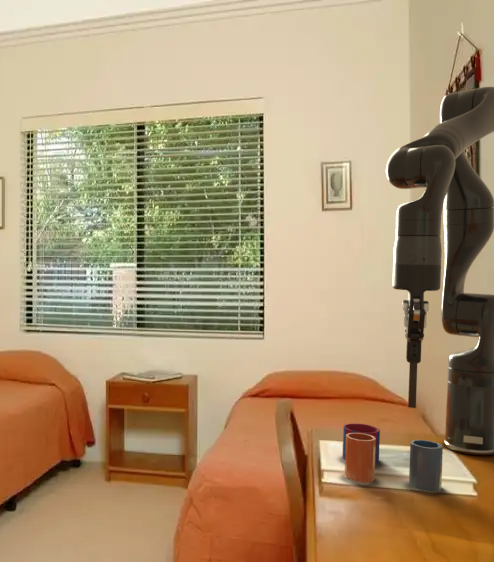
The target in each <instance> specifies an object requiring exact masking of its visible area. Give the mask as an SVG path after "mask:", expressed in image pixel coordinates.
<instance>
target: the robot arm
mask: <svg viewBox="0 0 494 562" xmlns="http://www.w3.org/2000/svg"><path fill="white" fill-rule="evenodd" d="M492 133H494V86H482V87H478V88H477V87H476V88H472V89H471V88H470V89H466V90H459V91H455V92H450V93H447V94H446V95H444V97H443V98H442V100H441V103H440V108H439V123H438V124H436V125H435V126H433V127H432V128H430V129H429V130H428V131H427V132H426V133H425V134H424V135H423V136H422V137H421V138H418V139H416V140H413V141H411V142H409V143H406V144H404V145H402V146H400V147H398V148H397V149H396V150H395V151H393V153H391V155H390V157H389V158H388V160H387V163H386V166H385V176H386V178H387V181H388V182H389V183H390V184H391V185H392V186H393V187H394V188H396V189H399V190H400V189H401V190H411V189H425V190H424V192H423V193H422V195H421V196H420V197H419V198H417V199H414V200H411V201H408V202H404V203H401V204H399V205H398V207H397V208H396V214H395V237H394V238H395V239H394V244H393V254H392V257H393V258H392V285H391V286H392V288H393V289H394V290H397V291H399V290H400V291H407V299H402V310H403V326H404V327H405V329H404V333H405V334H404V337H405V339H406V349H405V350H406V351H405V353H406V354H405V360H406V362H407V363H417V364H420V363H421V361H422V343H423V340H424V337H425V332H424V331H425V329H426V327H427V319H428V318H427V315H428V314H427V313H428V312H429V304H430V303H429V301H428V300H425V292H436V291H440V290H441V282H442V292H441V293H442V294H441V305H440V309H441V310H440V318H441V325H442V328H443V330H444V332H445V333H447V334H448V335H452V336H459V337H470V338H478V339H477V343H476V345H474V346H473V347H471V348H468V349H465V350H461V351H455V352H452V353H450V354H449V355H448V358H447V359H448V360H447V379H446V380H447V381H446V382H447V384H446V407H445V408H446V411H445V432H444V433H445V434H444V435H445V436H444V446H445V447H446V448H447V449H449V450H452V451H454V452H458V453H462V454H466V455H471V456H472V455H473V456H492V455H494V294H491V293H470V292H465V282H466V278H467V275H468V273H469V270H470V268H471V266H472V265H473V263H474V261H475V260H476V259H477V257H478V256H479V254H480V253H481V252H482V251H483V249H484V248H485V247H486V245H487V244H488V242H489V241H490V239H491V237H492V235H493V233H494V196H493V194H492V192H491V191H490V189H489V187H488V185H487V184H486V183H485V182H484V181H483V179H482V178H481V176H479V174H478V172H476V171H475V169H474V168H473V166H472V165H471V163H470V161H469V160H468V157H467V155H466V151H465V150H467V149H468V148H470V147H471V146H472V145H474V144H475V143H477V142H479V141H480V140H481V139H483V138H485V137H486V136H489V135H490V134H492ZM442 217H443V219H442ZM442 222H443V249H444V252H443V251H442V250H443V249H442V240H441V239H442V236H441V235H442V234H441V232H442ZM442 253H444V257H443V256H442ZM442 257H443V262H444V263H443V281H441V280H442Z"/></svg>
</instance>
